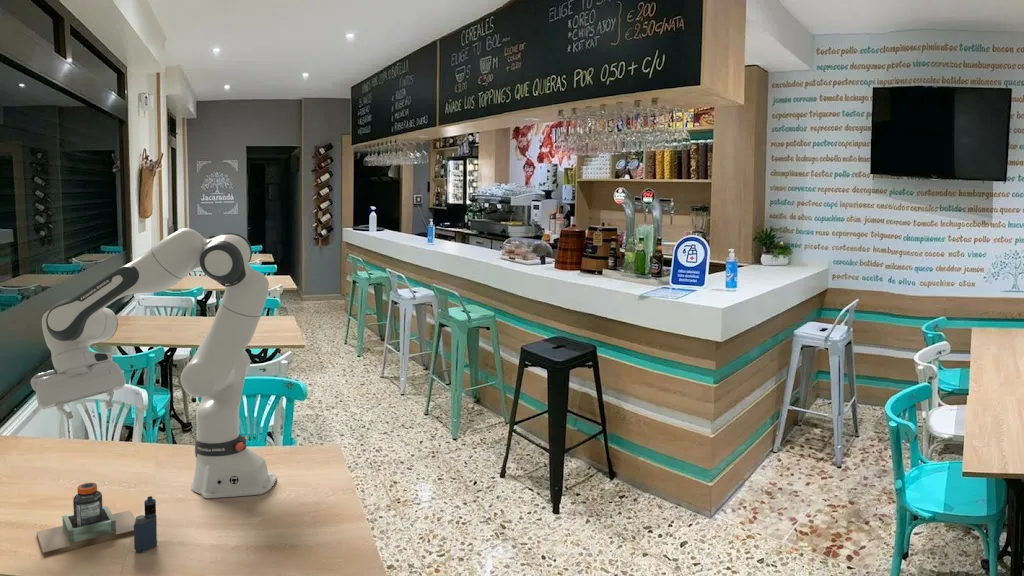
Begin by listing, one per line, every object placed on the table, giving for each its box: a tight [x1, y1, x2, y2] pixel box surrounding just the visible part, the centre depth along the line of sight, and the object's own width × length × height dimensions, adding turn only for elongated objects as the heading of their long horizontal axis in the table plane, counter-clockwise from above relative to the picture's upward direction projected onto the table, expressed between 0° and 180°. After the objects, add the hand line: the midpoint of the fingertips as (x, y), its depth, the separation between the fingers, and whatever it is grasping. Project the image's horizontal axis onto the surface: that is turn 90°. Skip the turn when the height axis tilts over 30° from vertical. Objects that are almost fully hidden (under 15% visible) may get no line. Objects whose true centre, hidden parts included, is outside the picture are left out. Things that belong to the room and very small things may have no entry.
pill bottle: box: [72, 482, 104, 528], centre depth 168 cm, size 6×6×11 cm
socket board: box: [36, 505, 136, 557], centre depth 168 cm, size 20×12×4 cm, turn 130°
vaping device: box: [133, 495, 158, 554], centre depth 162 cm, size 3×5×12 cm, turn 155°
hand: (90, 413), depth 183 cm, fingers open, 8 cm apart
